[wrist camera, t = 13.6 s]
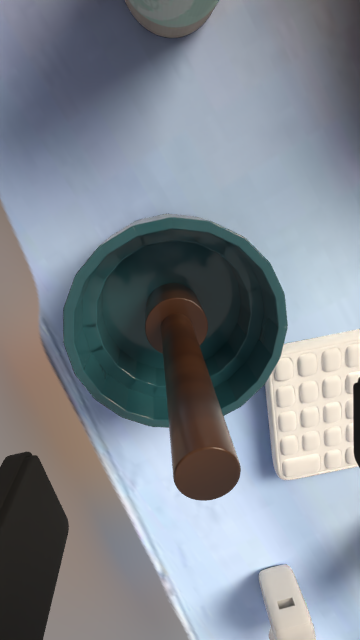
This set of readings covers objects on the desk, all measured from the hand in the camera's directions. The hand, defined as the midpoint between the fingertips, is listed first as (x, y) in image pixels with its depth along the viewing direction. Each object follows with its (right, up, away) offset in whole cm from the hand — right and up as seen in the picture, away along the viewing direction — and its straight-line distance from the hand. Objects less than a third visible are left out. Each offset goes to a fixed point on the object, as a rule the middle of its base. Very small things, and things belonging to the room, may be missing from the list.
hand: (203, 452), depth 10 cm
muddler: (-1, +5, +15) cm, 16 cm away
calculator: (+17, -2, +20) cm, 26 cm away
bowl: (-1, +5, +16) cm, 16 cm away
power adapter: (+11, -28, +29) cm, 41 cm away
